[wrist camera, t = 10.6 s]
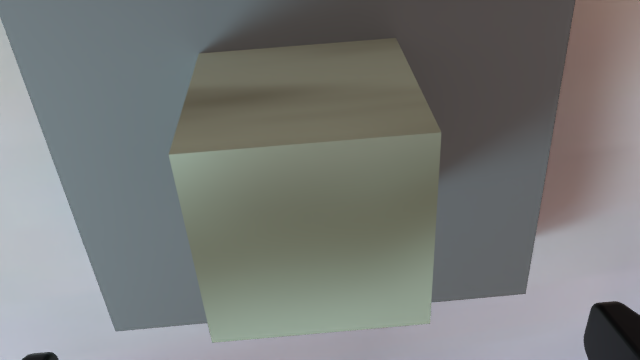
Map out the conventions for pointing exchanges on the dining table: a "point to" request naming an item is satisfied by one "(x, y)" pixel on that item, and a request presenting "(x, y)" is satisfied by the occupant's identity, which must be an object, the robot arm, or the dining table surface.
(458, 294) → the base slab
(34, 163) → the dining table surface
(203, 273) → the sage block
